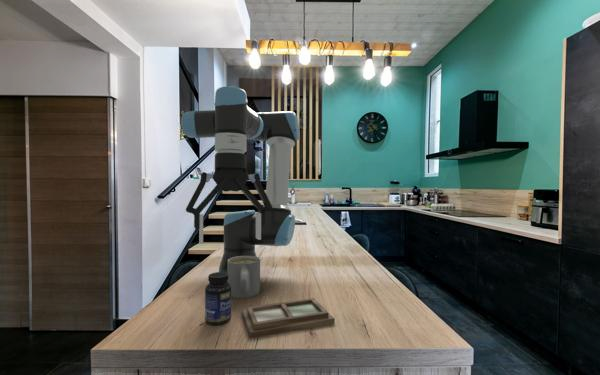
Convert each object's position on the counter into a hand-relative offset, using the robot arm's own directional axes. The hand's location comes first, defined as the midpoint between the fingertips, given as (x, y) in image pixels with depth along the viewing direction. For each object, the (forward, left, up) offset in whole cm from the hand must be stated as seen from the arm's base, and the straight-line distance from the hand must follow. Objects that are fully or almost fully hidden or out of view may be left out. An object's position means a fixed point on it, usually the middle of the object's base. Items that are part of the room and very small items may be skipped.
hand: (230, 240), depth 69 cm
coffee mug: (-16, +5, -20) cm, 26 cm away
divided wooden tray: (+4, +13, -19) cm, 24 cm away
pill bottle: (-1, -3, -20) cm, 20 cm away
